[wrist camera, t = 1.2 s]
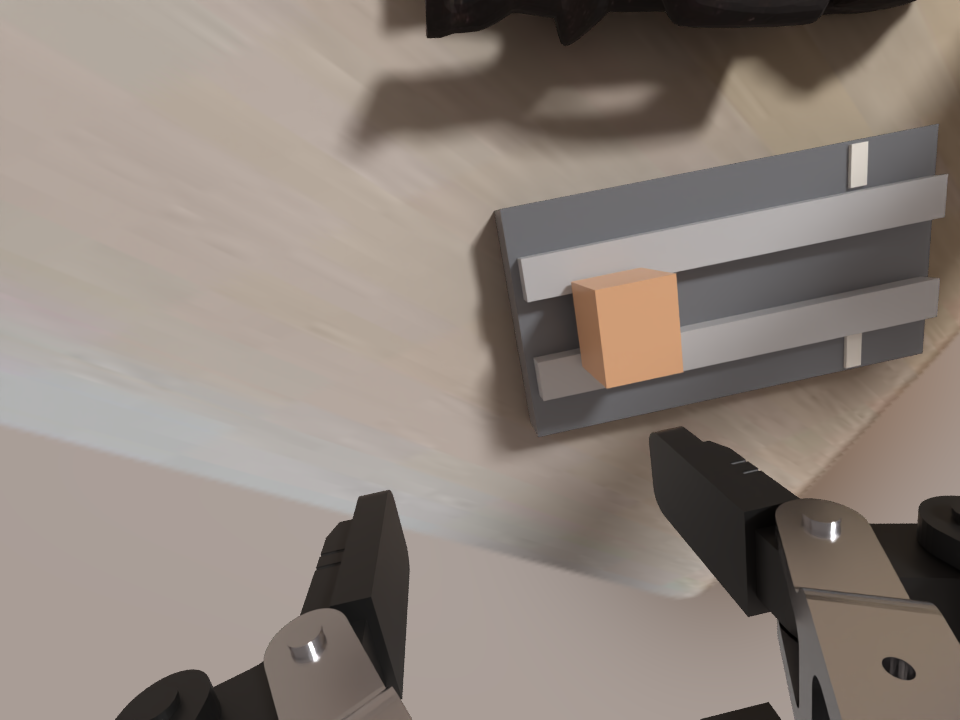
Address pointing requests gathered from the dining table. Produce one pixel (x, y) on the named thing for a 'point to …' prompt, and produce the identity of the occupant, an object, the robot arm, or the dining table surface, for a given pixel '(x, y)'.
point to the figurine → (583, 3)
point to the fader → (628, 326)
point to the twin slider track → (734, 272)
